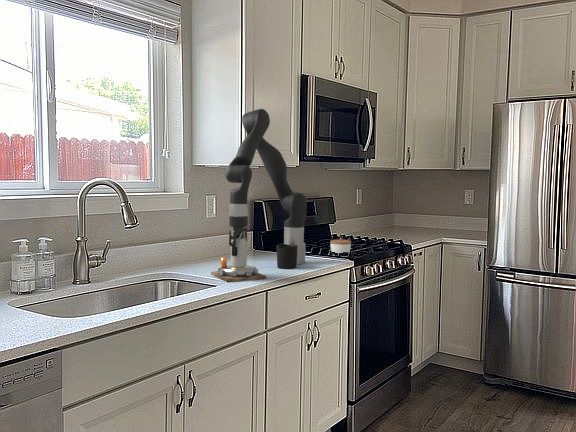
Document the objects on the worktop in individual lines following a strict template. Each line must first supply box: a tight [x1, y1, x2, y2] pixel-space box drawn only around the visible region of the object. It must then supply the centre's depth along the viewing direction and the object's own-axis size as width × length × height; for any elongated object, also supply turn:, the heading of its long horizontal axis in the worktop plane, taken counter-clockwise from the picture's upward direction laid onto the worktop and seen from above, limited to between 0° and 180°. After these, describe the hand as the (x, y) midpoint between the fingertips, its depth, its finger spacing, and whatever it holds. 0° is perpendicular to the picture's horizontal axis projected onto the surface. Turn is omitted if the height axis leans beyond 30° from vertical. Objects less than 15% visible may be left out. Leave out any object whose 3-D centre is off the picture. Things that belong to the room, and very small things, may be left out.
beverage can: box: [230, 238, 248, 268], centre depth 224 cm, size 6×6×12 cm
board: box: [210, 270, 267, 283], centre depth 225 cm, size 17×17×1 cm
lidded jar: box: [329, 237, 352, 253], centre depth 284 cm, size 11×11×9 cm
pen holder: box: [276, 243, 298, 270], centre depth 248 cm, size 9×9×10 cm
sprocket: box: [217, 257, 259, 276], centre depth 225 cm, size 16×16×6 cm
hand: (238, 254), depth 224 cm, fingers open, 8 cm apart
